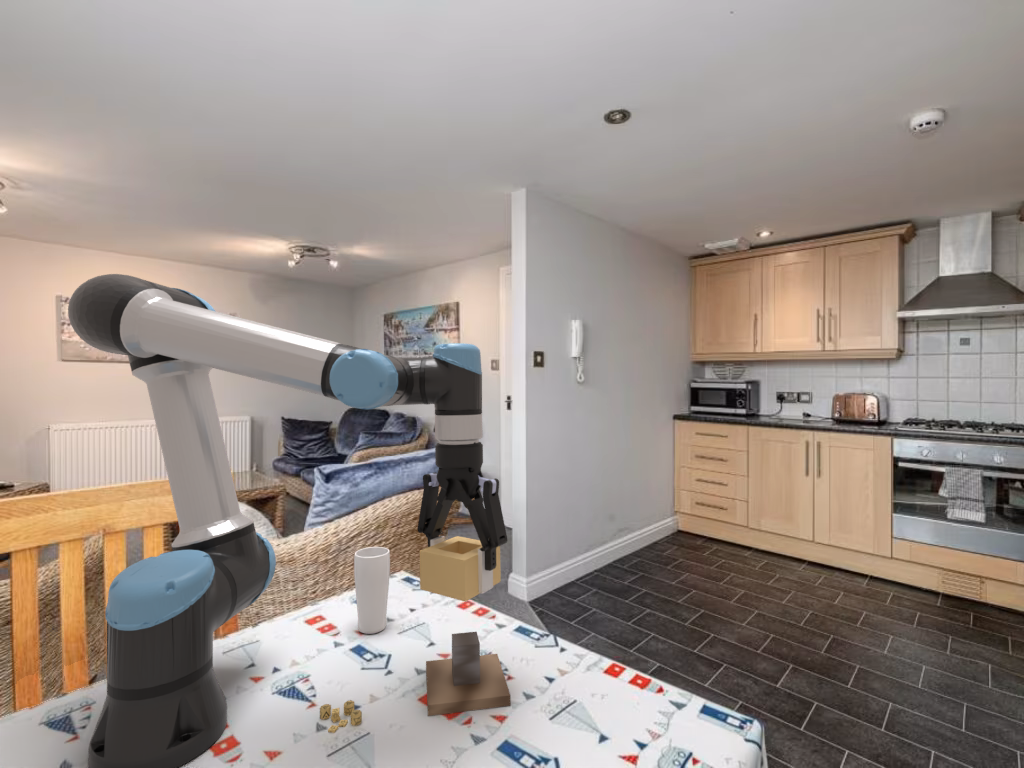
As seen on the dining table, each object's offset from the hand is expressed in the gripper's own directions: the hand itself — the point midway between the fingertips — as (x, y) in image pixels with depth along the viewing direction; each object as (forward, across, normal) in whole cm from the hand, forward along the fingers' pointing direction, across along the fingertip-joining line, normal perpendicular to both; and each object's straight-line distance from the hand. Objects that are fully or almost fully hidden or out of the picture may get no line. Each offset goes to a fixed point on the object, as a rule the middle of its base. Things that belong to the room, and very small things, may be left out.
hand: (461, 583), depth 80 cm
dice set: (+17, +9, +16) cm, 25 cm away
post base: (+16, -1, 0) cm, 16 cm away
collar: (0, 0, 0) cm, 0 cm away
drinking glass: (+16, +27, -5) cm, 32 cm away
